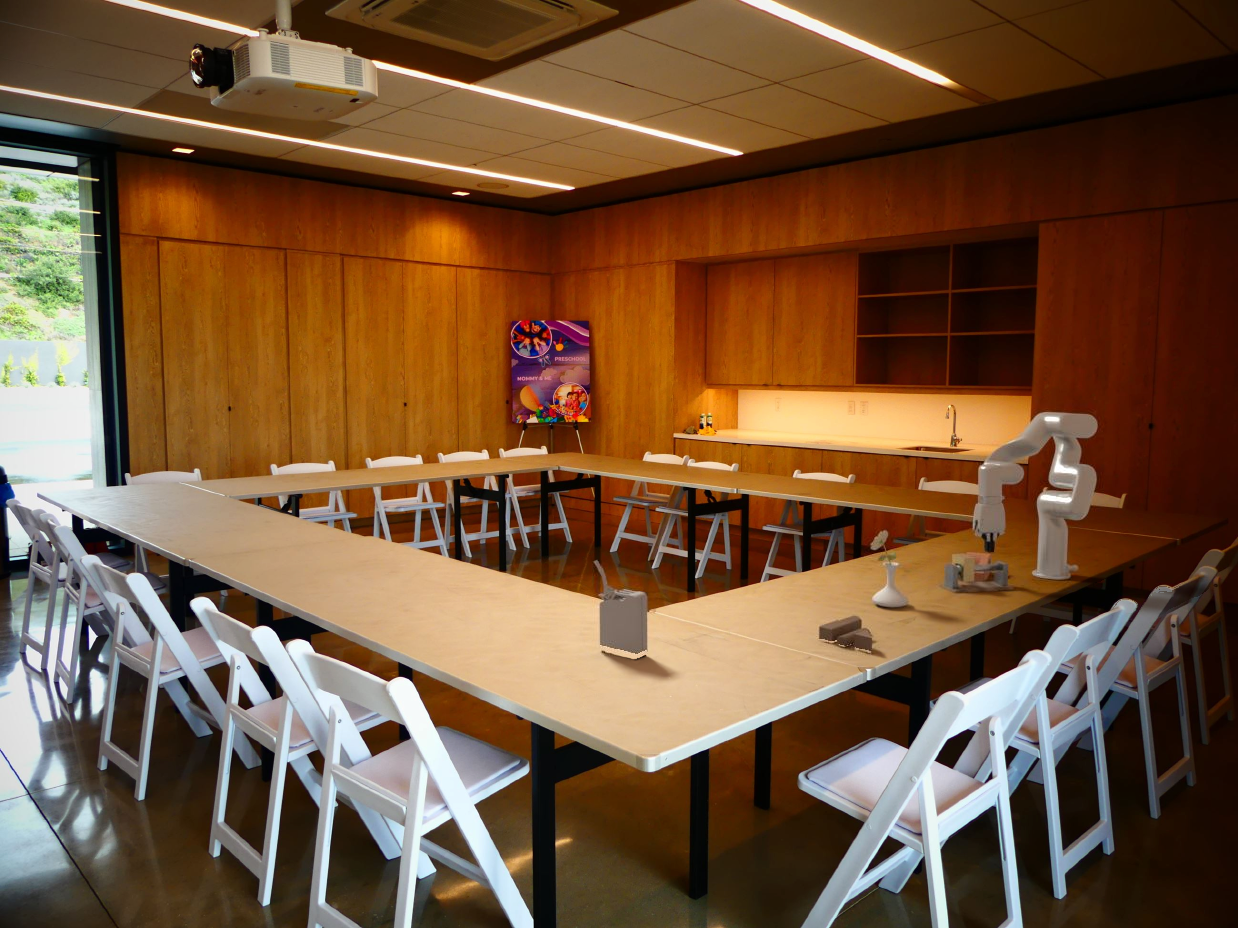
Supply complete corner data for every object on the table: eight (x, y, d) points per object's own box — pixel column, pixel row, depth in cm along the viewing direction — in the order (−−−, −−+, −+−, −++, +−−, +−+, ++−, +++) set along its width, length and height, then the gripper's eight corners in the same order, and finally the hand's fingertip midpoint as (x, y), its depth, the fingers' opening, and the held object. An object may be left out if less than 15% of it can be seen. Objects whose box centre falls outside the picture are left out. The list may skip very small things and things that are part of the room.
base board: (995, 582, 312) (995, 580, 312) (1013, 589, 302) (1013, 587, 302) (939, 586, 308) (939, 583, 308) (955, 593, 298) (955, 590, 298)
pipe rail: (998, 584, 309) (999, 561, 308) (1007, 587, 304) (1008, 564, 303) (944, 587, 305) (945, 563, 305) (952, 591, 300) (953, 566, 300)
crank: (968, 570, 332) (968, 550, 331) (990, 572, 328) (991, 552, 327) (959, 581, 315) (960, 560, 314) (983, 584, 311) (983, 562, 310)
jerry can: (592, 649, 240) (590, 560, 237) (603, 645, 244) (602, 557, 241) (636, 661, 230) (635, 568, 228) (647, 656, 234) (647, 564, 232)
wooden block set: (816, 622, 246) (852, 610, 258) (816, 642, 246) (852, 629, 258) (869, 635, 233) (905, 622, 245) (869, 656, 234) (904, 642, 246)
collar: (962, 576, 307) (962, 553, 307) (973, 581, 300) (974, 557, 300) (951, 577, 307) (952, 554, 306) (963, 581, 300) (964, 558, 299)
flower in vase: (893, 599, 290) (895, 525, 288) (916, 607, 280) (918, 531, 277) (860, 603, 286) (861, 528, 283) (882, 612, 275) (884, 534, 272)
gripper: (1002, 496, 308) (1002, 547, 310) (964, 499, 305) (963, 551, 307) (1016, 500, 300) (1015, 552, 302) (976, 503, 298) (976, 555, 300)
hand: (989, 551), depth 305 cm, fingers closed
